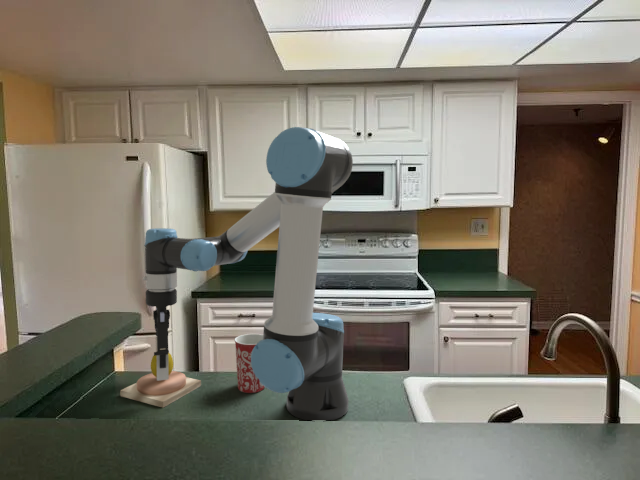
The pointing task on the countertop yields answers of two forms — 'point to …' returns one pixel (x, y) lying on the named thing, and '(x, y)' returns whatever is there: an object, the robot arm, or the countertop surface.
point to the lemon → (154, 365)
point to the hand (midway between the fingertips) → (161, 369)
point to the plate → (160, 389)
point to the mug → (247, 363)
